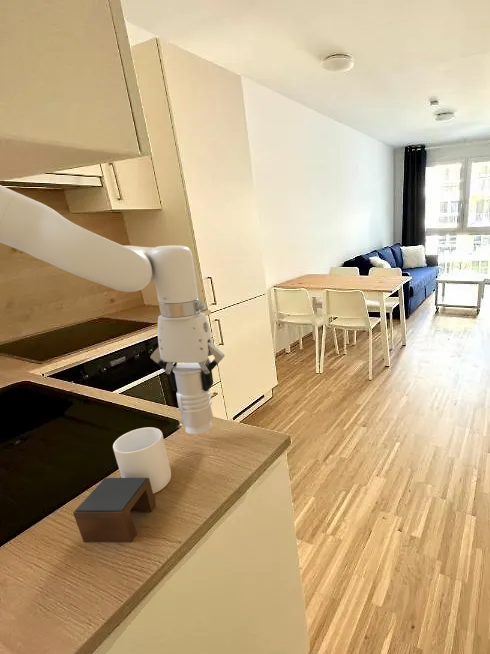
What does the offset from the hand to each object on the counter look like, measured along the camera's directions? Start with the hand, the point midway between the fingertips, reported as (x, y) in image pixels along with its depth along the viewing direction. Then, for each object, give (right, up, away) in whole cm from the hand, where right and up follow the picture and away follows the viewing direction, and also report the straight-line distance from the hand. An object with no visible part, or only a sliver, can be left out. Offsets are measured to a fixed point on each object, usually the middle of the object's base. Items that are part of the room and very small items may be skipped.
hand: (192, 387), depth 79 cm
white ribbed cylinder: (0, -10, +3) cm, 10 cm away
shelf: (-5, -22, -17) cm, 28 cm away
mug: (-6, -18, -6) cm, 20 cm away
